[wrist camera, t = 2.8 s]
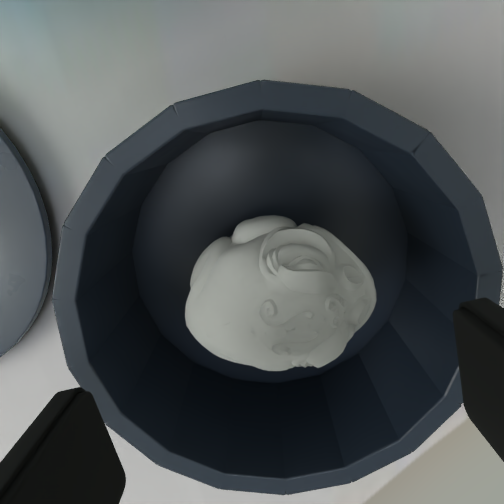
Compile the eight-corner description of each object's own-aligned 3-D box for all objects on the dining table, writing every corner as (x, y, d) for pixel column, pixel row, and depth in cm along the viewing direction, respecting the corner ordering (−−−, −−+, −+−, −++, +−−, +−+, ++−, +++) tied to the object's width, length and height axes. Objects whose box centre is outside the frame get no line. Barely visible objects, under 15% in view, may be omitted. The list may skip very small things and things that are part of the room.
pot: (72, 150, 17) (-26, 157, 11) (400, 62, 16) (485, 16, 10) (169, 415, 21) (135, 523, 15) (439, 359, 20) (517, 453, 14)
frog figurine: (356, 299, 19) (409, 387, 12) (221, 338, 20) (203, 441, 13) (323, 180, 17) (365, 207, 11) (179, 227, 18) (133, 279, 11)
